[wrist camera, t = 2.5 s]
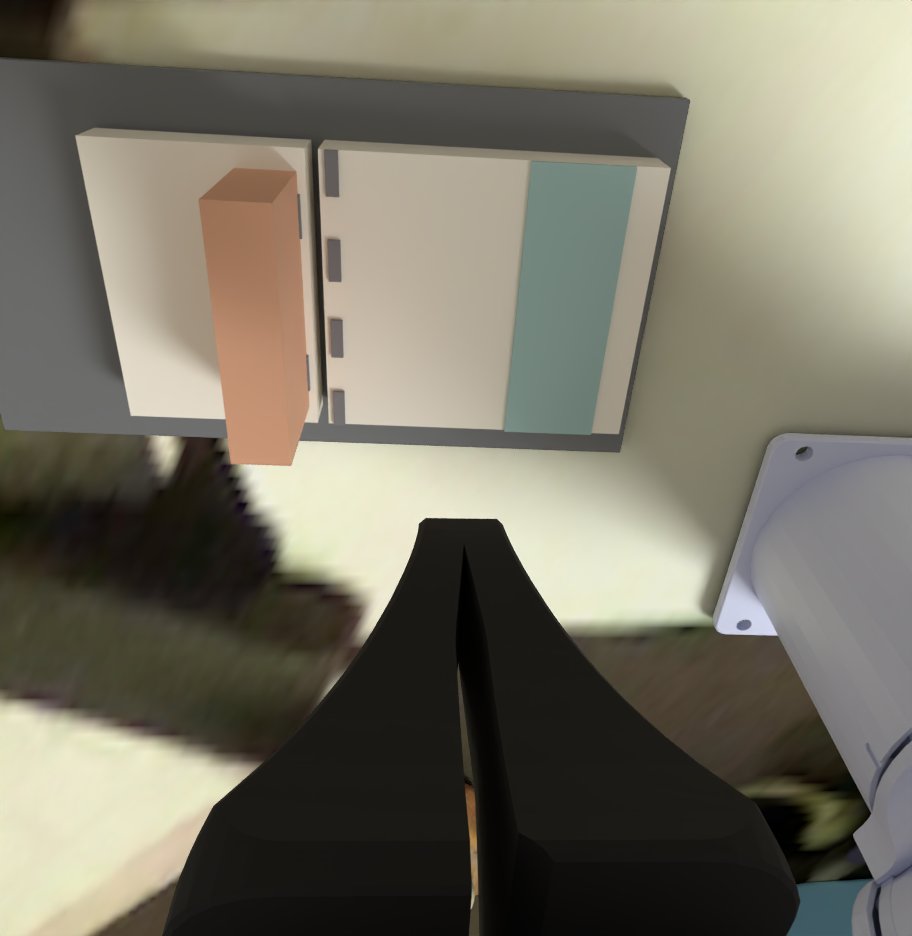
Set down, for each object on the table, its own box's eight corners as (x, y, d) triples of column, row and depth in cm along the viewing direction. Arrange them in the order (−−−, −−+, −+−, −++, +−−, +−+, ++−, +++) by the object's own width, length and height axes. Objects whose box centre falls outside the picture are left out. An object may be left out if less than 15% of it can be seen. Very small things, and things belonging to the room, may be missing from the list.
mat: (685, 97, 18) (690, 99, 18) (617, 445, 23) (619, 452, 23) (-99, 51, 17) (-109, 52, 17) (11, 423, 22) (5, 429, 22)
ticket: (658, 158, 18) (671, 168, 17) (610, 413, 22) (619, 435, 21) (324, 139, 18) (317, 149, 17) (333, 402, 22) (328, 425, 21)
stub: (311, 139, 18) (280, 176, 14) (322, 404, 22) (300, 483, 18) (94, 128, 18) (10, 162, 14) (144, 397, 21) (87, 476, 18)
